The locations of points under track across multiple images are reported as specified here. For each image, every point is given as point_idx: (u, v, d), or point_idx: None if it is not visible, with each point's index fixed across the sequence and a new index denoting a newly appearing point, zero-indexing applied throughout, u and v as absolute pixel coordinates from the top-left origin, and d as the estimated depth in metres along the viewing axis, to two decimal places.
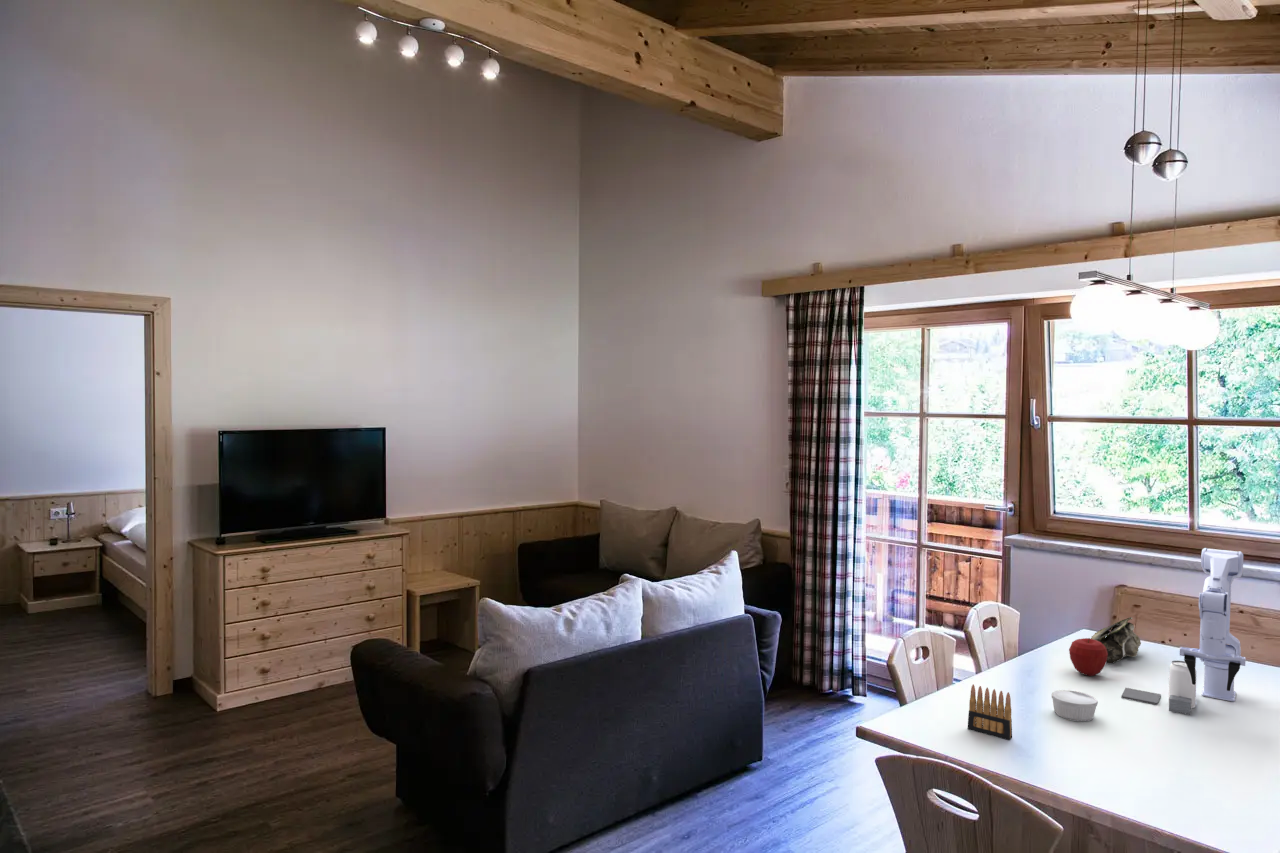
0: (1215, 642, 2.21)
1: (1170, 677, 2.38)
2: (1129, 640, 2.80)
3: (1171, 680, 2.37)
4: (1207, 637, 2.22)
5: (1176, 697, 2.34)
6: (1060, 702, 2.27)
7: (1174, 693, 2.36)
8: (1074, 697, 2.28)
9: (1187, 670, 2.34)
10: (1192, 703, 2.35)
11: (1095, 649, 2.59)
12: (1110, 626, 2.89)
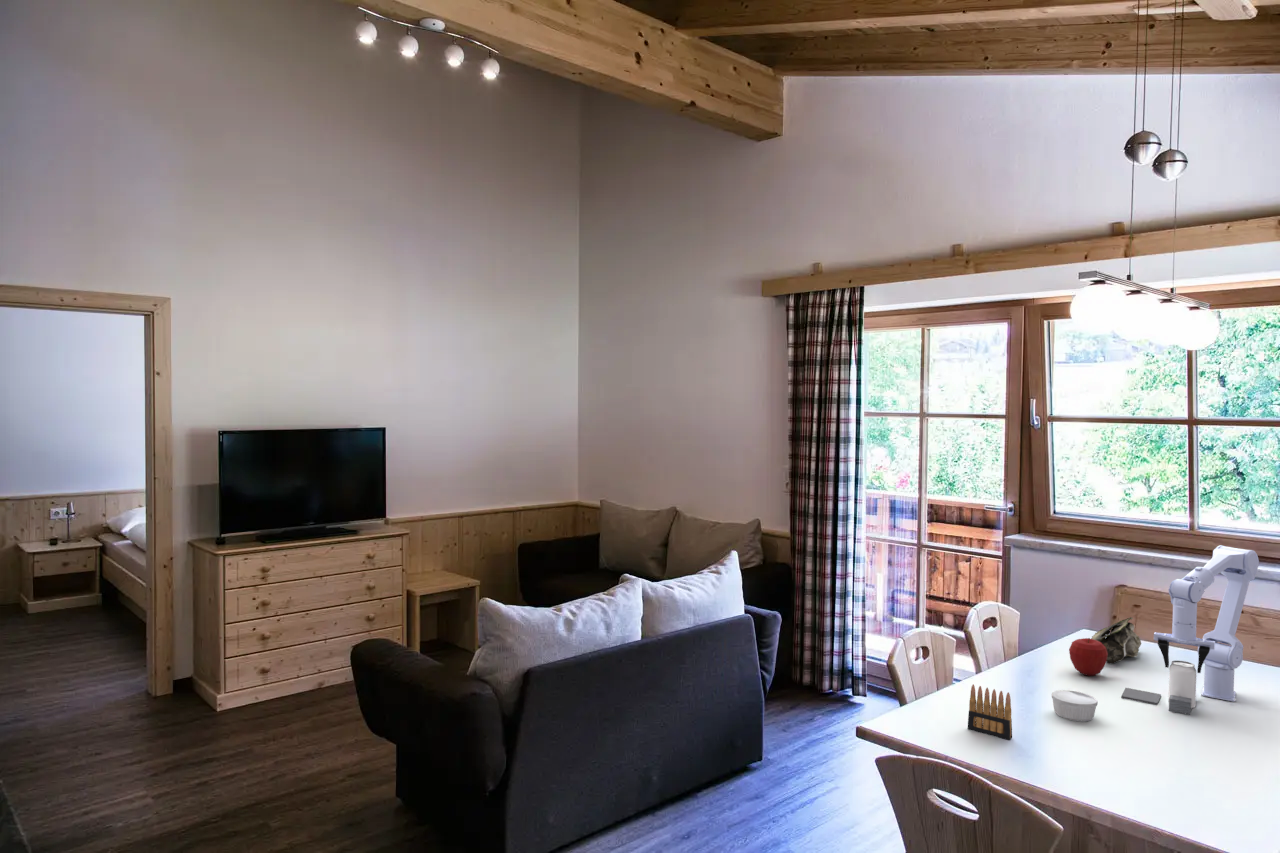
0: (1186, 627, 2.34)
1: (1170, 677, 2.38)
2: (1130, 640, 2.80)
3: (1171, 680, 2.37)
4: (1179, 622, 2.35)
5: (1176, 697, 2.34)
6: (1060, 702, 2.27)
7: (1174, 693, 2.36)
8: (1074, 697, 2.28)
9: (1187, 670, 2.34)
10: (1192, 703, 2.35)
11: (1095, 649, 2.59)
12: (1110, 626, 2.89)
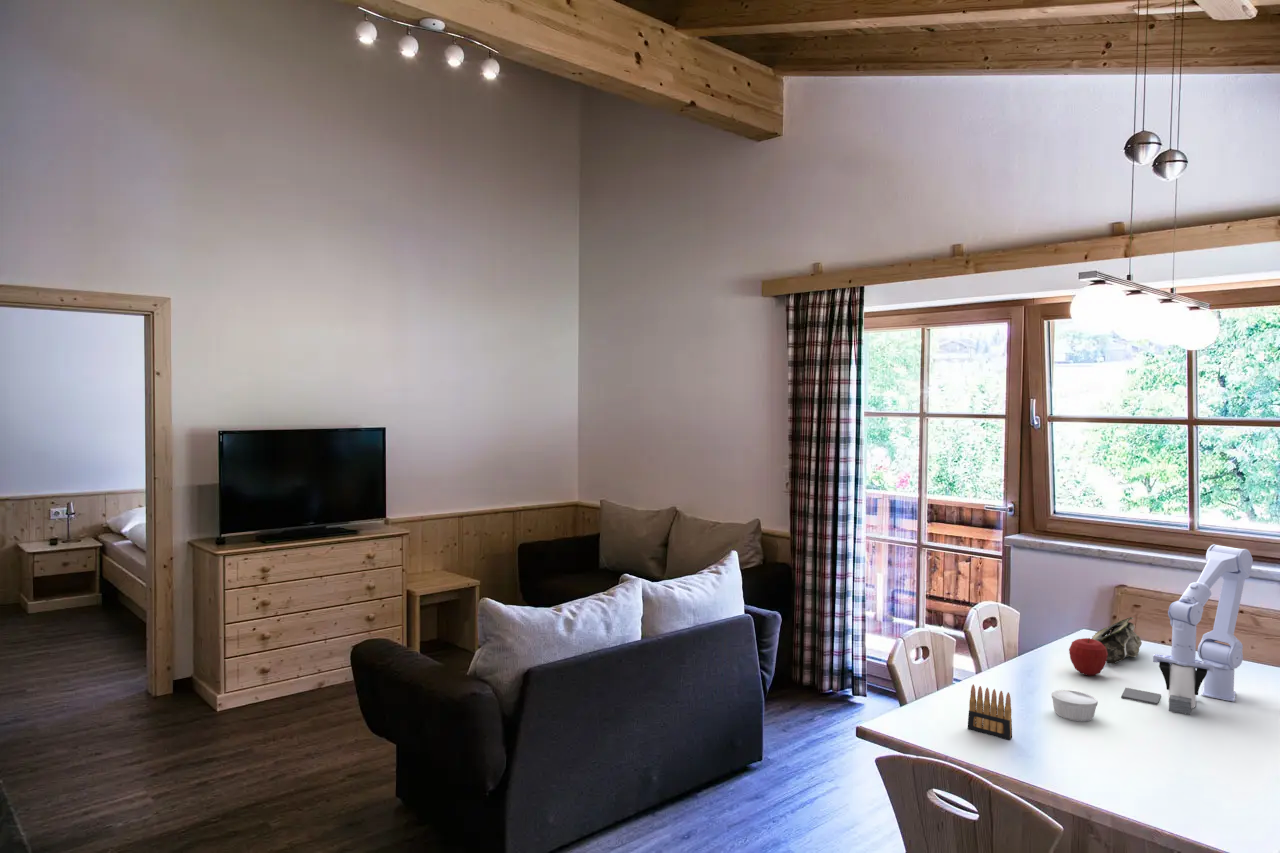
0: (1185, 649, 2.34)
1: (1170, 677, 2.38)
2: (1130, 640, 2.80)
3: (1171, 680, 2.37)
4: (1178, 645, 2.36)
5: (1176, 697, 2.34)
6: (1060, 702, 2.27)
7: (1174, 693, 2.36)
8: (1074, 697, 2.28)
9: (1187, 670, 2.34)
10: (1192, 703, 2.35)
11: (1095, 649, 2.59)
12: (1110, 626, 2.89)
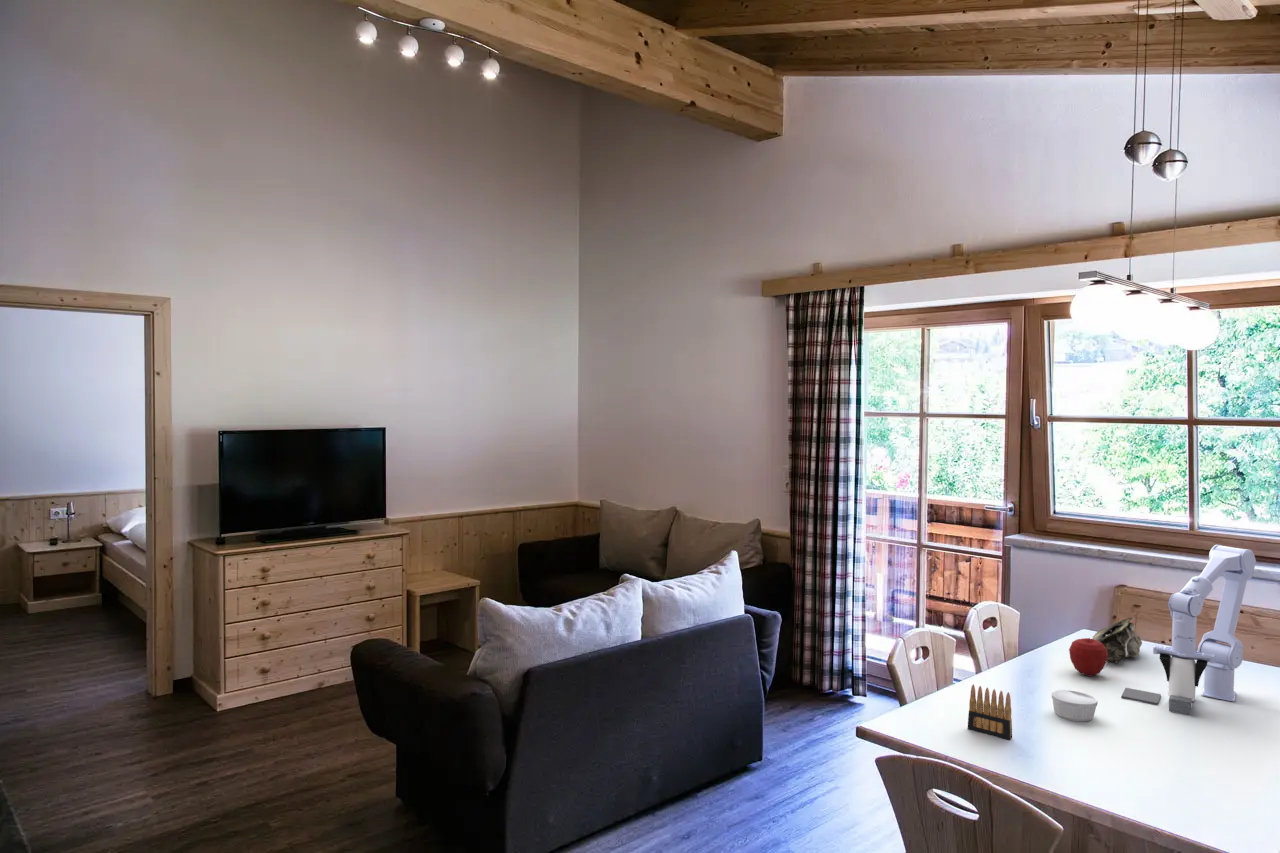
0: (1186, 641, 2.34)
1: (1170, 670, 2.38)
2: (1131, 640, 2.80)
3: (1171, 673, 2.37)
4: (1178, 636, 2.35)
5: (1176, 697, 2.34)
6: (1060, 702, 2.27)
7: (1173, 686, 2.36)
8: (1074, 697, 2.28)
9: (1187, 663, 2.34)
10: (1192, 696, 2.34)
11: (1095, 649, 2.59)
12: (1111, 626, 2.89)
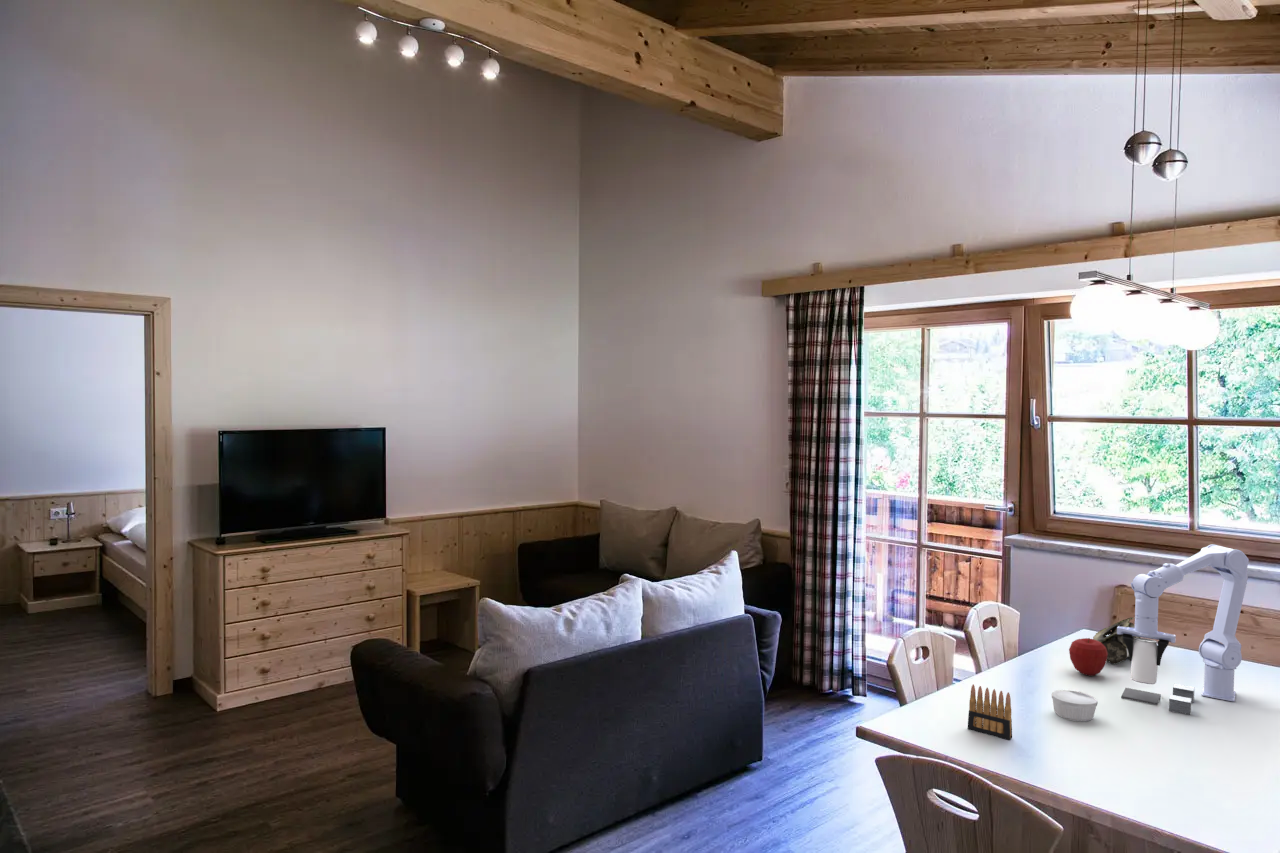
0: (1148, 621, 2.40)
1: (1133, 653, 2.43)
2: None
3: (1133, 656, 2.43)
4: (1141, 616, 2.41)
5: (1176, 697, 2.34)
6: (1060, 702, 2.27)
7: (1136, 668, 2.42)
8: (1074, 697, 2.28)
9: (1149, 645, 2.40)
10: (1153, 678, 2.40)
11: (1095, 649, 2.59)
12: (1111, 626, 2.89)
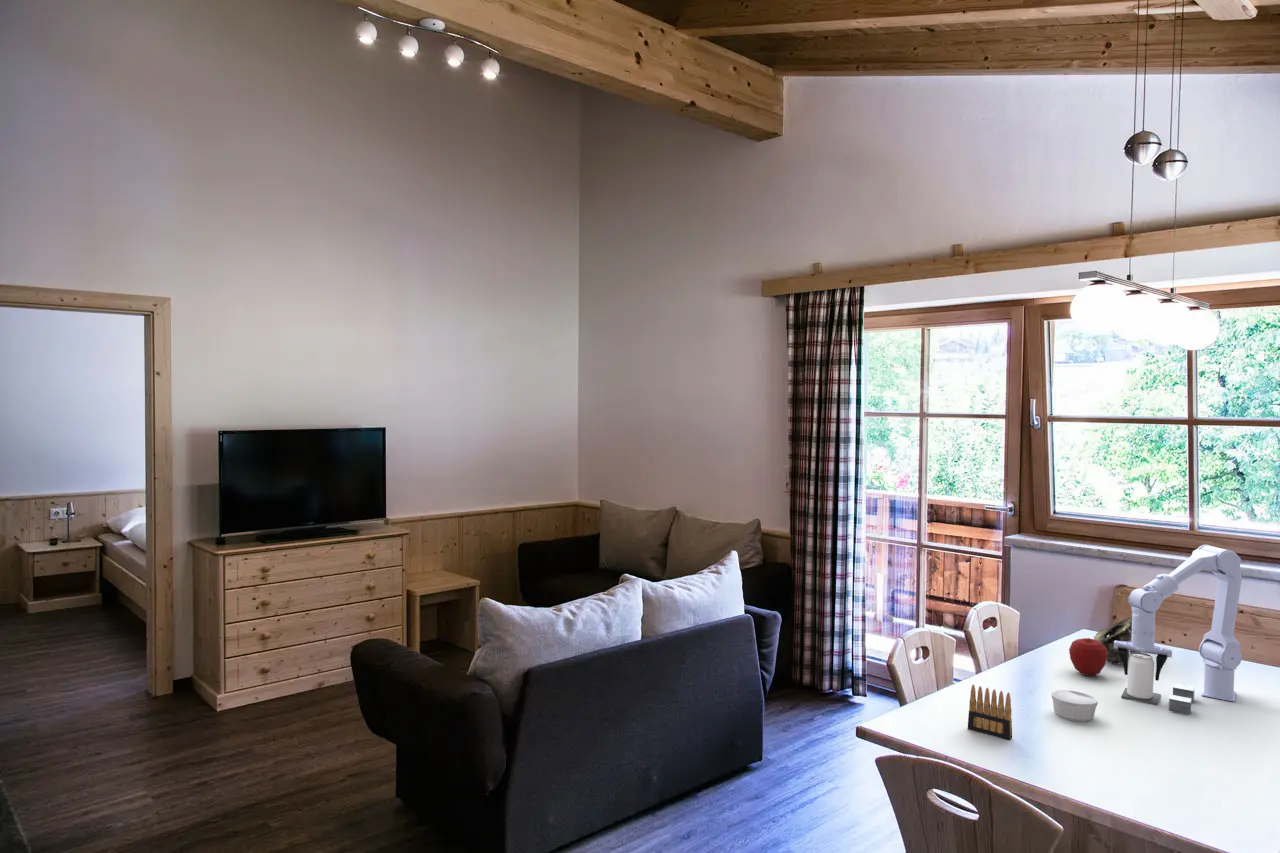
0: (1144, 636, 2.40)
1: (1128, 668, 2.43)
2: None
3: (1129, 671, 2.43)
4: (1137, 631, 2.42)
5: (1176, 697, 2.34)
6: (1060, 702, 2.27)
7: (1131, 684, 2.42)
8: (1074, 697, 2.28)
9: (1145, 662, 2.39)
10: (1149, 694, 2.40)
11: (1095, 649, 2.59)
12: (1112, 626, 2.89)
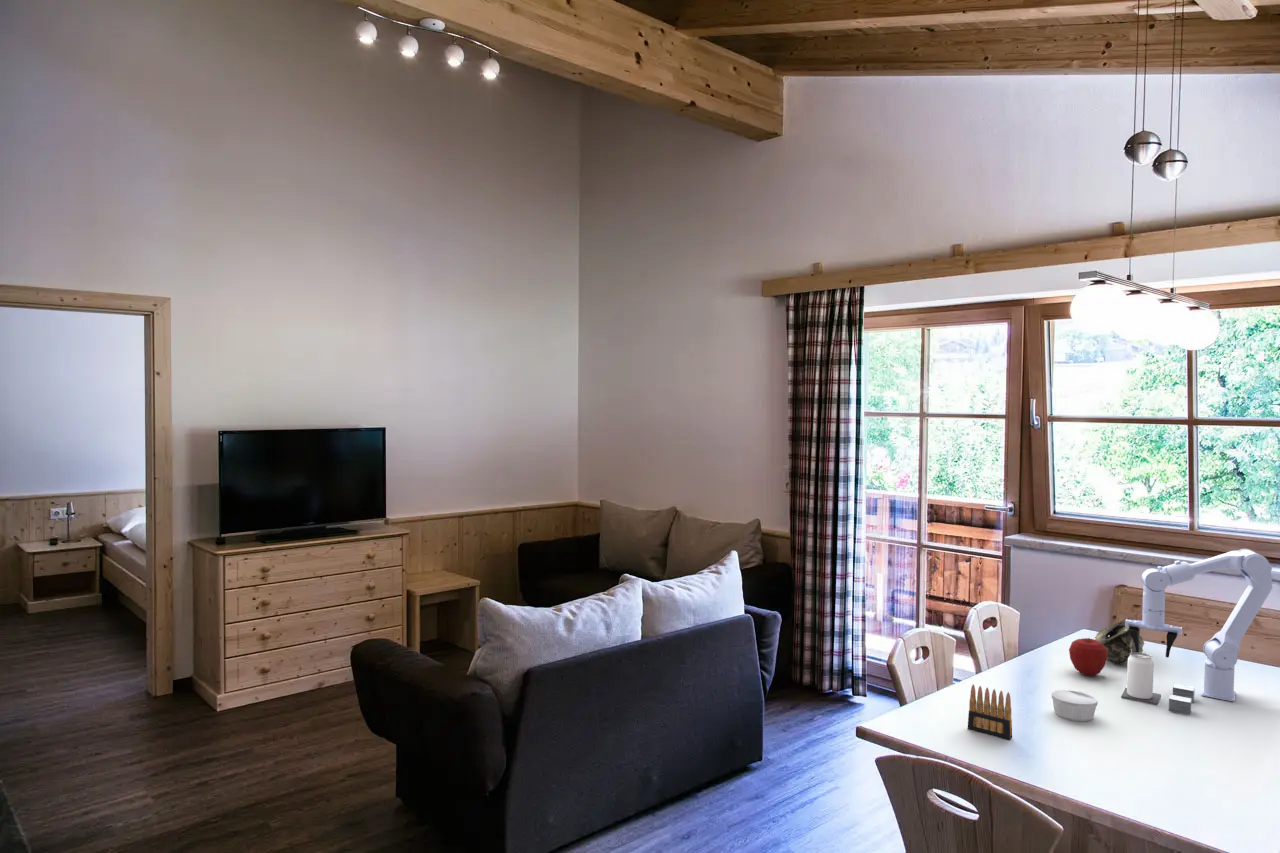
0: (1155, 614, 2.48)
1: (1128, 668, 2.43)
2: None
3: (1129, 671, 2.43)
4: (1148, 610, 2.49)
5: (1176, 697, 2.34)
6: (1060, 702, 2.27)
7: (1131, 684, 2.42)
8: (1074, 697, 2.28)
9: (1144, 661, 2.40)
10: (1149, 694, 2.40)
11: (1095, 649, 2.59)
12: (1112, 627, 2.89)
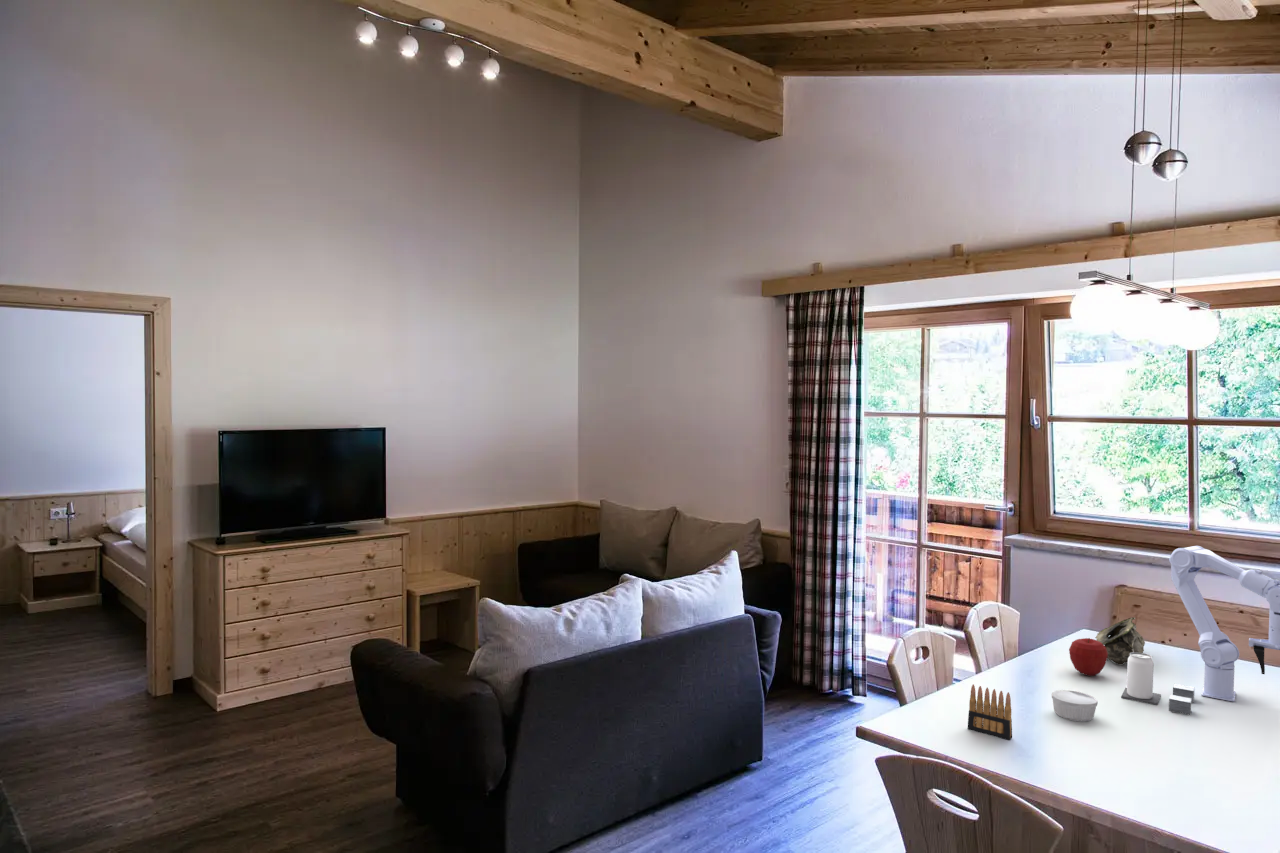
0: None
1: (1128, 668, 2.43)
2: (1135, 640, 2.79)
3: (1129, 671, 2.43)
4: (1277, 628, 2.30)
5: (1176, 697, 2.34)
6: (1060, 702, 2.27)
7: (1131, 684, 2.42)
8: (1074, 697, 2.28)
9: (1144, 661, 2.40)
10: (1149, 694, 2.40)
11: (1095, 649, 2.59)
12: (1113, 627, 2.89)
